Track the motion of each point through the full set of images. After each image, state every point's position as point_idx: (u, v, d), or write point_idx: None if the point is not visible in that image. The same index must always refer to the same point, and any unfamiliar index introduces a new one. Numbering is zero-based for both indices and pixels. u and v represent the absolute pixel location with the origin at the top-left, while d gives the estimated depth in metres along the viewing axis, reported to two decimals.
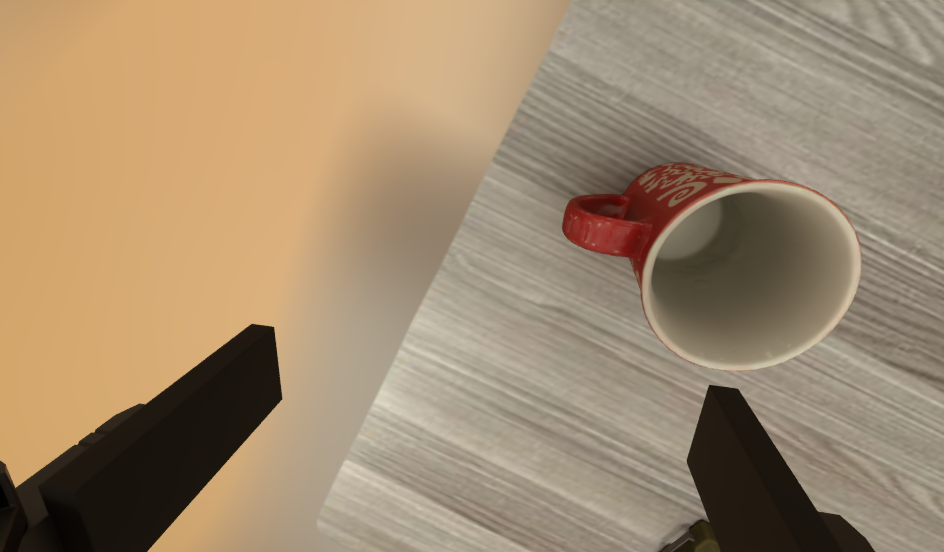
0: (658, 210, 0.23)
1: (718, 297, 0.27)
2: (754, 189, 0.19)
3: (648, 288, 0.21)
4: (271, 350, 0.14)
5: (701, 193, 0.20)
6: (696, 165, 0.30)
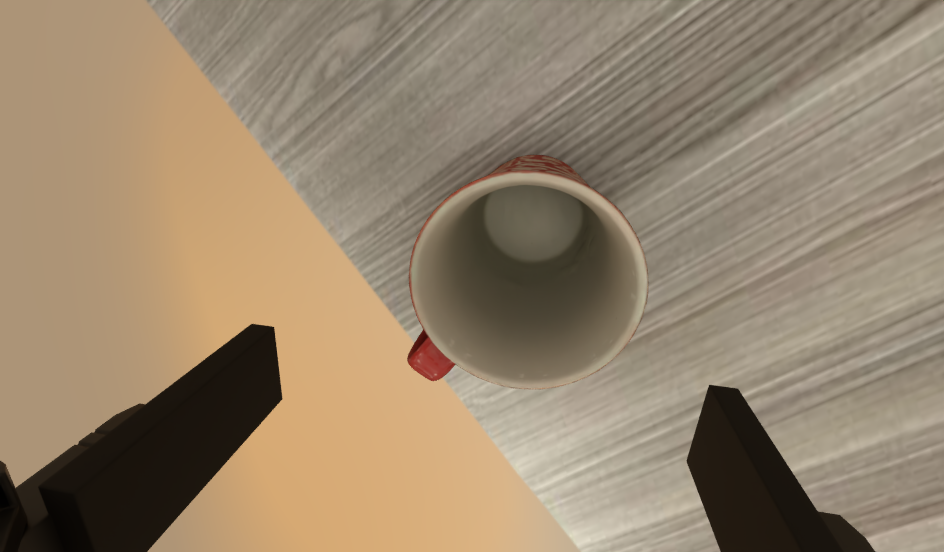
0: None
1: (601, 252, 0.23)
2: (425, 245, 0.18)
3: (483, 372, 0.19)
4: (271, 350, 0.14)
5: None
6: None
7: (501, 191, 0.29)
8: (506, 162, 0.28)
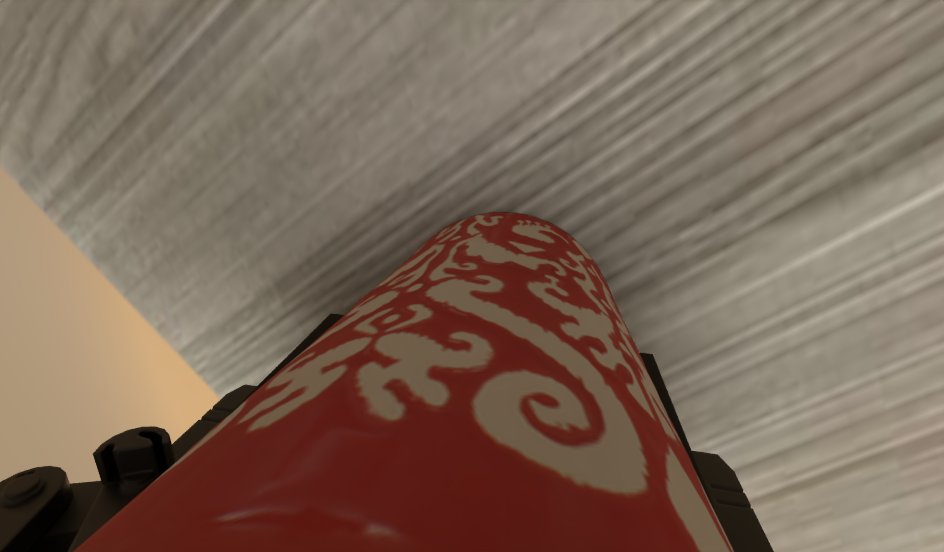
0: None
1: None
2: None
3: None
4: None
5: None
6: None
7: None
8: (447, 228, 0.14)
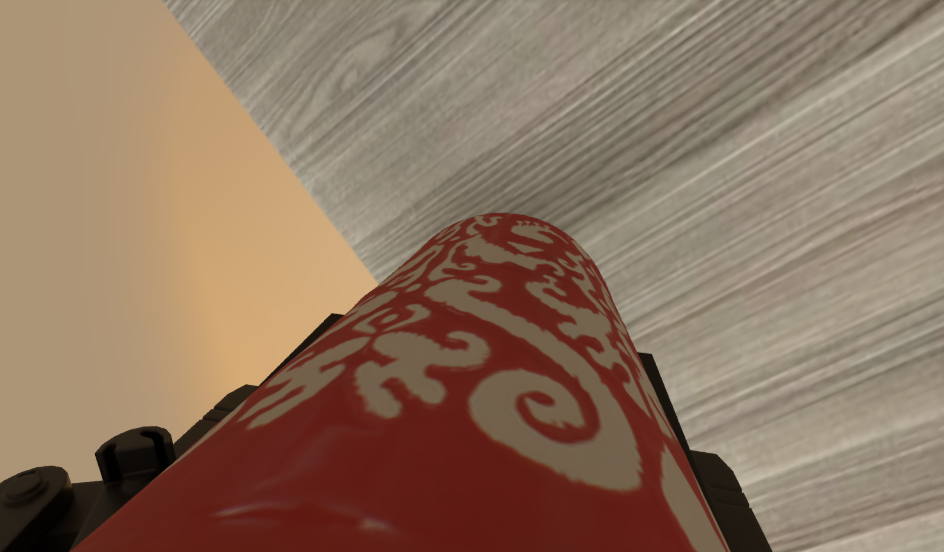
0: None
1: None
2: None
3: None
4: None
5: None
6: None
7: None
8: (447, 228, 0.14)
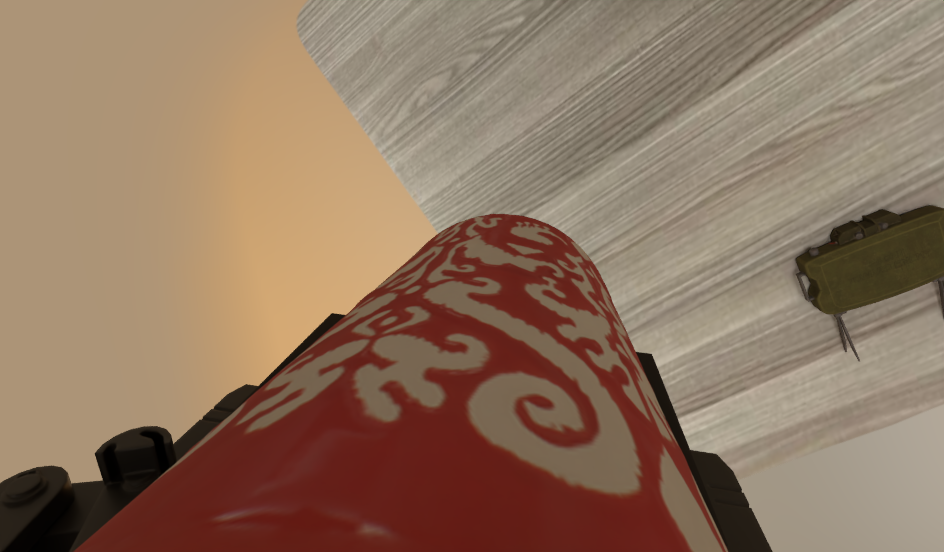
0: None
1: None
2: None
3: None
4: None
5: None
6: None
7: None
8: (446, 229, 0.14)
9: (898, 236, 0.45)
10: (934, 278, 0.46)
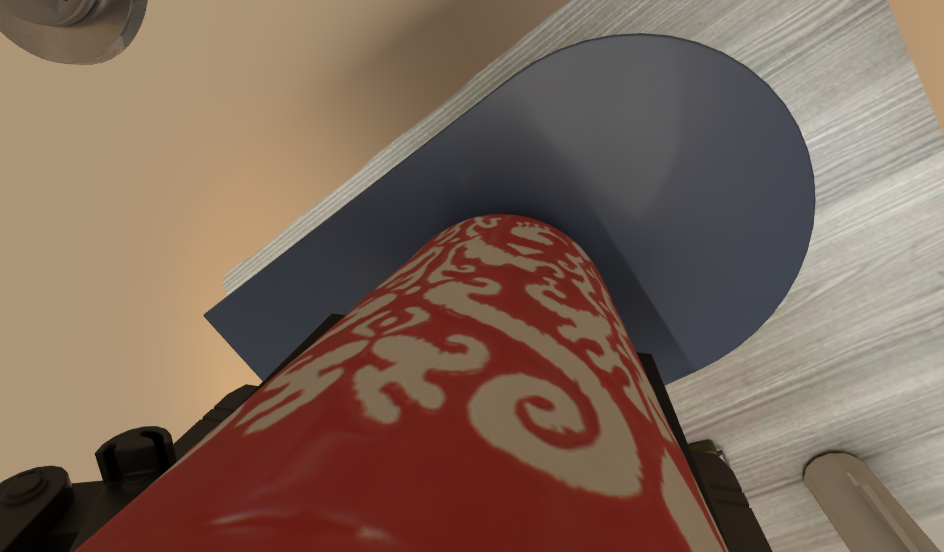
0: None
1: None
2: None
3: None
4: None
5: None
6: None
7: None
8: (446, 230, 0.14)
9: None
10: None
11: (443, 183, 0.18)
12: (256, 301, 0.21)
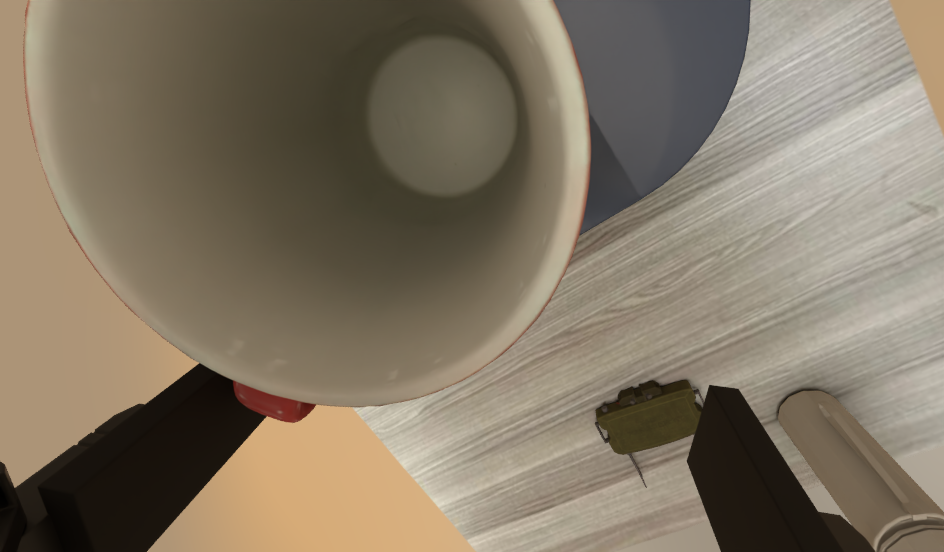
0: None
1: (525, 107, 0.12)
2: (61, 149, 0.08)
3: (312, 390, 0.09)
4: None
5: None
6: None
7: (383, 99, 0.18)
8: None
9: (658, 405, 0.59)
10: (689, 434, 0.60)
11: None
12: None
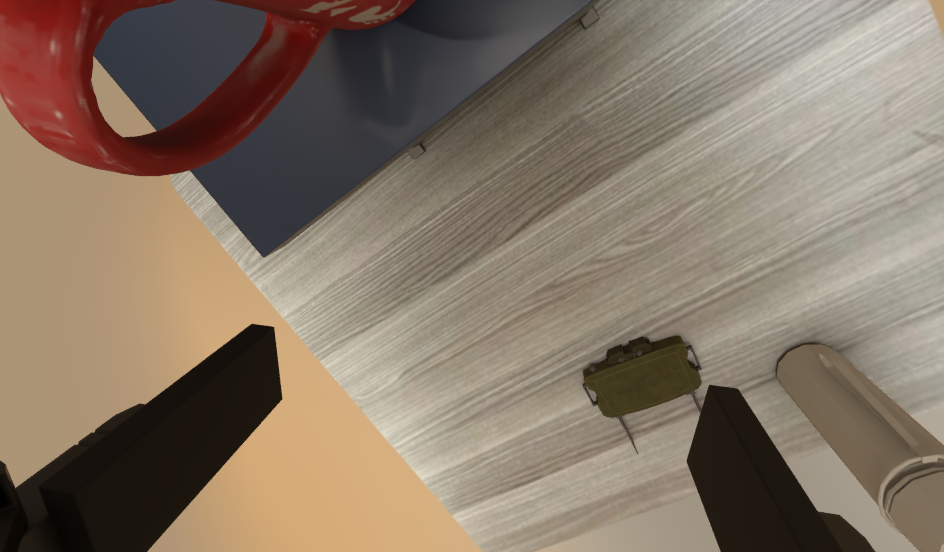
0: None
1: None
2: None
3: None
4: (271, 350, 0.14)
5: None
6: None
7: None
8: None
9: (648, 362, 0.55)
10: (682, 394, 0.57)
11: None
12: None
